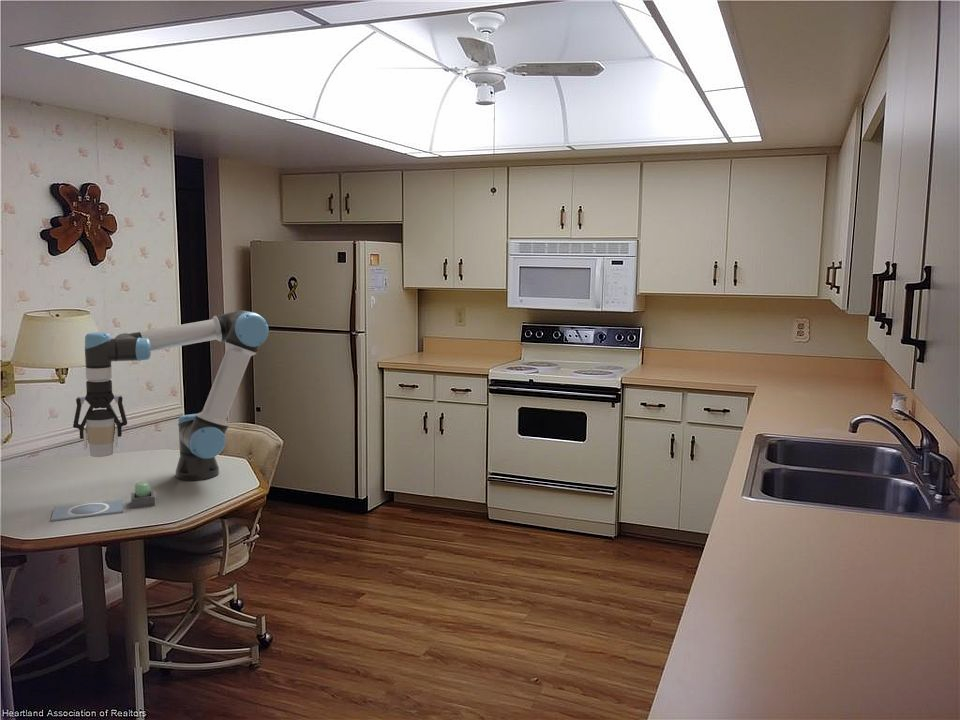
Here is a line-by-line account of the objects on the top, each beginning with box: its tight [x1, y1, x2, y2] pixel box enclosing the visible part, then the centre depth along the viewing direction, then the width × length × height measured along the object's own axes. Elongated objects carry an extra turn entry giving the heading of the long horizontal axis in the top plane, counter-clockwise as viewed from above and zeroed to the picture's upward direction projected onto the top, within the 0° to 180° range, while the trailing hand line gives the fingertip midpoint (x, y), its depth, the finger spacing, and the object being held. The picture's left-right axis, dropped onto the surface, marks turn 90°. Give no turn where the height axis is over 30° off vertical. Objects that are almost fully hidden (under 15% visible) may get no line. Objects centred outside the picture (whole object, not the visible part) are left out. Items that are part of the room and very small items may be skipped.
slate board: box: [50, 499, 124, 522], centre depth 240 cm, size 20×12×1 cm, turn 115°
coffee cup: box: [85, 408, 116, 458], centre depth 248 cm, size 9×9×15 cm
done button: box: [134, 481, 151, 498], centre depth 247 cm, size 4×4×4 cm
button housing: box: [130, 490, 156, 509], centre depth 247 cm, size 7×7×3 cm
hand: (101, 447), depth 249 cm, fingers closed on coffee cup, 8 cm apart
